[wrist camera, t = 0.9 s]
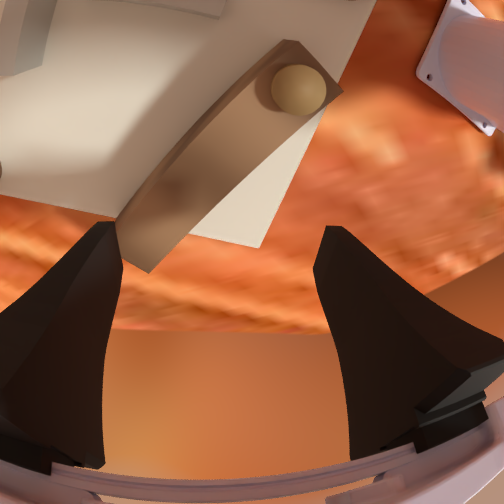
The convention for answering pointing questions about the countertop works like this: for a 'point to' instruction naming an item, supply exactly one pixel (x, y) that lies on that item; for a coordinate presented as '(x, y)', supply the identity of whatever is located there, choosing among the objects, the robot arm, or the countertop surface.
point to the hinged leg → (223, 150)
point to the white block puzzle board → (147, 94)
